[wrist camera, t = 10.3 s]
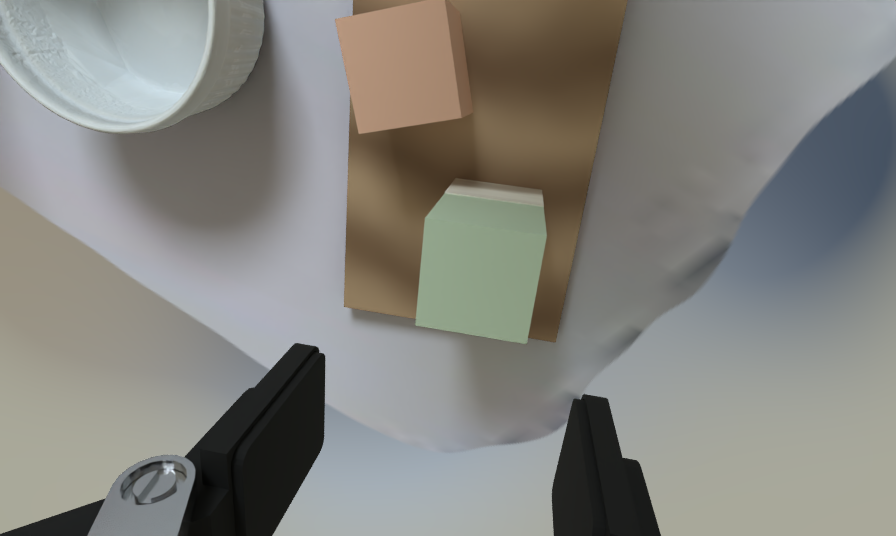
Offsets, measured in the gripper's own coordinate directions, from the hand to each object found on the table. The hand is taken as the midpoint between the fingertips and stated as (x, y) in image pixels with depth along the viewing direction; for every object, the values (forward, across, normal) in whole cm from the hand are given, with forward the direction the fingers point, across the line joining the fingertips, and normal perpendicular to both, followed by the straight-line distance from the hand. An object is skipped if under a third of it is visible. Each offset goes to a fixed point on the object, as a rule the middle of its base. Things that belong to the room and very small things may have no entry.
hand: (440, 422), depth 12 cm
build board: (+20, +2, -3) cm, 20 cm away
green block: (+14, 0, 0) cm, 14 cm away
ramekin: (+20, +20, -10) cm, 30 cm away
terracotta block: (+18, +5, -8) cm, 21 cm away
